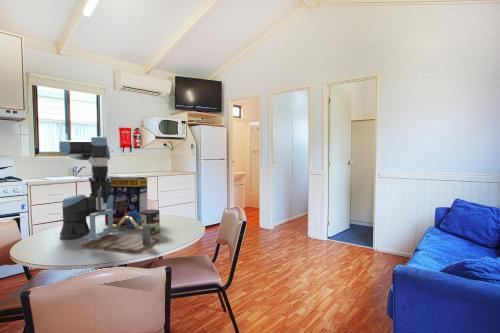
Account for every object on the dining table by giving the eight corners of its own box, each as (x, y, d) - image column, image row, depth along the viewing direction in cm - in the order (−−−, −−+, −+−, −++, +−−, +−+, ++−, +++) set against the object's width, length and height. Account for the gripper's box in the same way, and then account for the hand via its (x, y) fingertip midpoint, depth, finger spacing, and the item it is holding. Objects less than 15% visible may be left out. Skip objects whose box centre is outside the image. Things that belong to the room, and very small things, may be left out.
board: (81, 247, 147) (81, 244, 147) (107, 236, 164) (107, 234, 164) (137, 253, 138) (137, 250, 137) (158, 241, 155) (158, 238, 155)
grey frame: (84, 238, 148) (83, 191, 146) (106, 230, 162) (105, 187, 161) (97, 240, 146) (95, 191, 144) (118, 231, 160) (117, 188, 158)
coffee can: (163, 232, 172) (162, 209, 171) (154, 237, 162) (153, 213, 161) (147, 231, 174) (147, 209, 173) (137, 236, 164) (137, 212, 163)
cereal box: (148, 221, 199) (148, 176, 198) (139, 225, 187) (139, 177, 187) (114, 220, 203) (113, 176, 202) (103, 224, 192) (102, 177, 191)
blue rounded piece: (146, 227, 183) (145, 209, 182) (139, 230, 176) (138, 211, 176) (130, 226, 186) (130, 208, 185) (123, 229, 179) (123, 210, 179)
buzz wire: (108, 241, 151) (107, 215, 150) (112, 239, 154) (111, 214, 153) (147, 245, 145) (146, 218, 144) (150, 243, 148) (149, 217, 147)
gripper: (82, 165, 150) (84, 209, 151) (106, 166, 146) (108, 211, 147) (93, 165, 157) (95, 206, 159) (117, 165, 153) (118, 208, 155)
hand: (101, 208), depth 153 cm, fingers closed on grey frame, 2 cm apart
